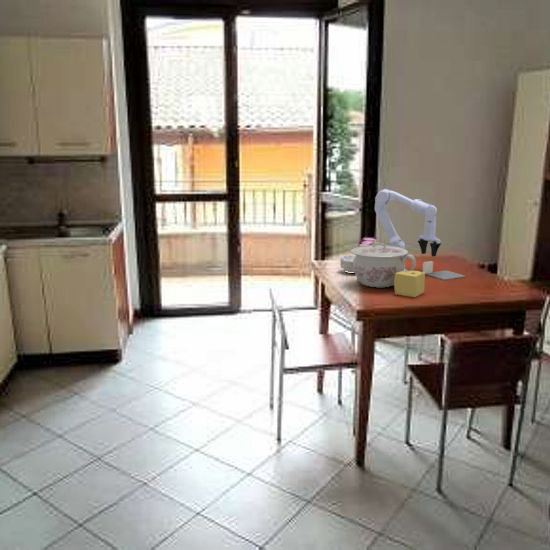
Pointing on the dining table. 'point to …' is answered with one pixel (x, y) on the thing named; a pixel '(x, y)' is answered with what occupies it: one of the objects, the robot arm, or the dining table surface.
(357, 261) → the chamber pot
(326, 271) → the dining table surface
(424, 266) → the block
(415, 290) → the cheese
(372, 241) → the gum box
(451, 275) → the mat
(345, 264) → the paper bowls
